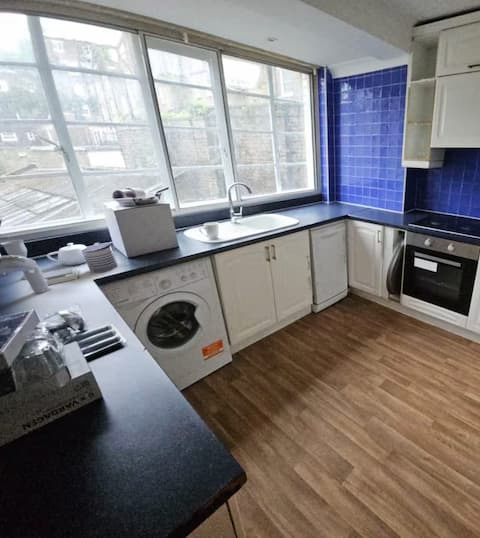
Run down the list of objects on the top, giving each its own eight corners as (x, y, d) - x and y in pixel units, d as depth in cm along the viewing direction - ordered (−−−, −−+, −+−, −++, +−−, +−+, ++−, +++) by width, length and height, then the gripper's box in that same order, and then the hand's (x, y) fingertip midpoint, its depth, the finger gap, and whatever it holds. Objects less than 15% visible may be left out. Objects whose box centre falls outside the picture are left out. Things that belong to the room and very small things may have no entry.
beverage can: (32, 294, 125) (18, 269, 120) (38, 289, 129) (24, 264, 125) (46, 292, 127) (33, 266, 122) (52, 287, 131) (39, 262, 126)
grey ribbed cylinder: (111, 271, 147) (102, 248, 142) (85, 274, 144) (75, 251, 140) (122, 263, 157) (114, 241, 152) (97, 265, 155) (88, 243, 150)
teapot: (51, 271, 149) (42, 251, 145) (52, 263, 158) (43, 245, 154) (106, 259, 162) (99, 241, 158) (104, 253, 172) (97, 235, 167)
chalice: (41, 272, 147) (24, 238, 140) (41, 276, 143) (23, 241, 136) (20, 277, 143) (1, 242, 135) (19, 281, 138) (-1, 245, 131)
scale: (38, 287, 132) (35, 281, 131) (41, 278, 140) (39, 273, 139) (77, 278, 140) (74, 273, 139) (77, 271, 148) (75, 266, 147)
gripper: (18, 248, 109) (49, 263, 121) (-49, 253, 105) (-9, 268, 118) (13, 264, 106) (46, 277, 119) (-55, 269, 103) (-14, 282, 116)
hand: (18, 272), depth 119 cm, fingers open, 8 cm apart
